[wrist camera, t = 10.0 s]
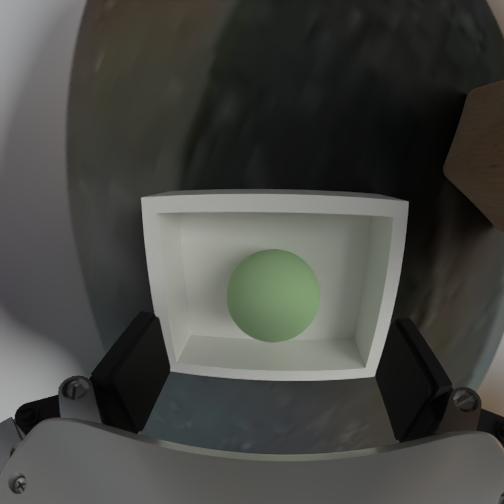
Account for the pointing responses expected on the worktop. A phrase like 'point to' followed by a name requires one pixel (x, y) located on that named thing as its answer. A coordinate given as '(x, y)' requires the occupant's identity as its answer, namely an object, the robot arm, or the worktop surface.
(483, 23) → the worktop surface
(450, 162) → the wooden block
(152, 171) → the worktop surface
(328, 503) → the robot arm
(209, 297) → the serving dish
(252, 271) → the green ball
